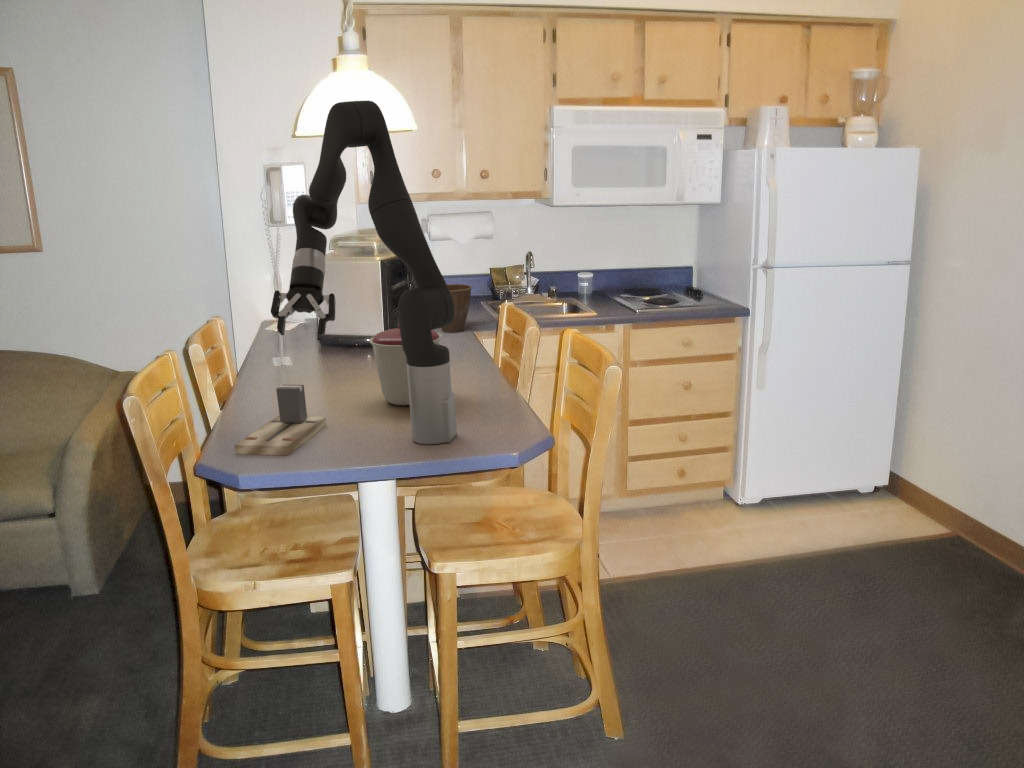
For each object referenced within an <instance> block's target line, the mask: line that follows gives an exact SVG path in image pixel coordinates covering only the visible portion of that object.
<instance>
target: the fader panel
mask: <svg viewBox="0 0 1024 768" xmlns="http://www.w3.org/2000/svg"><path fill="white" fill-rule="evenodd" d="M326 418H327V417H326V416H307V419H305V420H304V421H303V422H301V423H288V422H280V415H276V417H274V418H273V419H271V420H270V421H268V422H266V423H265V424H264V425H262V426H261V427H259V428H258V429H256V430H255V431H253V432H251V434H249V435H247V436H246V437H244V438H243V439H241V440H240V441H238V442H237V443H235V444H234V451H235V455H236V454H237V455H261V456H262V455H263V456H266V455H267V456H268V455H269V456H289V455H291V454H292V453H294V452H295V450H297V449H298V448H300V447H301V446H302V445H303V444H304V443H306V442H307V441H308V440H310V439H311V438H312V437H313V436H315V435H316V434H317V433H318V432H320V431H321V430H322V429H324V428H325V427H326V426H327V419H326Z"/></svg>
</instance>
